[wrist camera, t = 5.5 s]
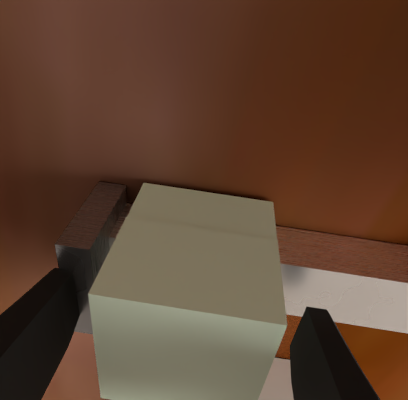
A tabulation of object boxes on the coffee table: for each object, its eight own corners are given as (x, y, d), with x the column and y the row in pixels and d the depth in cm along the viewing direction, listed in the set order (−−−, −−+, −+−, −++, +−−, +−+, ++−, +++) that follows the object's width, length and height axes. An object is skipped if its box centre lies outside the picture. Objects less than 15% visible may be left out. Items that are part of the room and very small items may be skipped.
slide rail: (544, 247, 12) (637, 334, 9) (480, 319, 14) (539, 406, 11) (99, 181, 13) (54, 244, 10) (105, 260, 15) (70, 330, 12)
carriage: (273, 200, 12) (287, 325, 8) (248, 292, 15) (249, 422, 10) (143, 181, 12) (87, 293, 8) (142, 276, 15) (100, 397, 11)
